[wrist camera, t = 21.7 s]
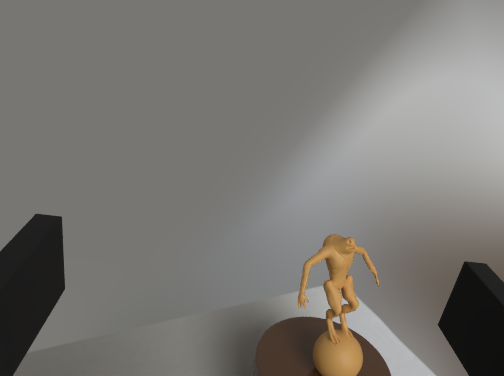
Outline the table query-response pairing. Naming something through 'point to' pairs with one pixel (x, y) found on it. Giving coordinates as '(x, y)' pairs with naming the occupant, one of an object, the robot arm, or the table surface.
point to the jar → (305, 350)
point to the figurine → (337, 307)
